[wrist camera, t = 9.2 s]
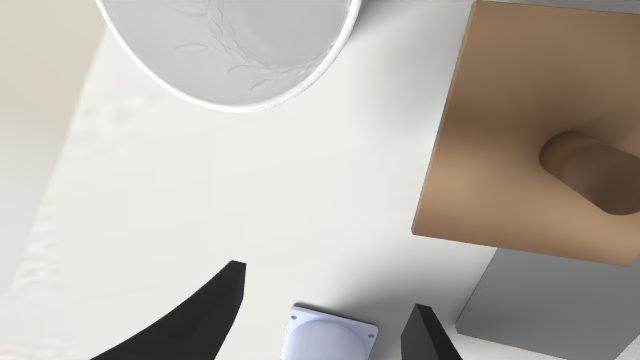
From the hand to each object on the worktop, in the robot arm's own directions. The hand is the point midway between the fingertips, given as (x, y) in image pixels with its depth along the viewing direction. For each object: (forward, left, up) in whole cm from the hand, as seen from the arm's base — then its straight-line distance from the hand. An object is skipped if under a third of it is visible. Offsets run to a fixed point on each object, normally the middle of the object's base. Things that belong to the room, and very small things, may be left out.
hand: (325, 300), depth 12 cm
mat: (-4, -18, -10) cm, 21 cm away
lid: (+7, -10, -7) cm, 14 cm away
